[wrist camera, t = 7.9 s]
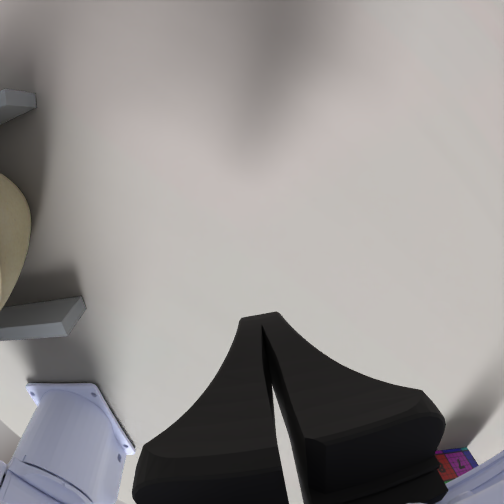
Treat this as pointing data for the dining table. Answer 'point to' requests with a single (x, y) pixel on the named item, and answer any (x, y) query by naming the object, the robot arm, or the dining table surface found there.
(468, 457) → the puzzle
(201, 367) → the dining table surface
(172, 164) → the dining table surface
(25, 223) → the flower pot
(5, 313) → the bracket
